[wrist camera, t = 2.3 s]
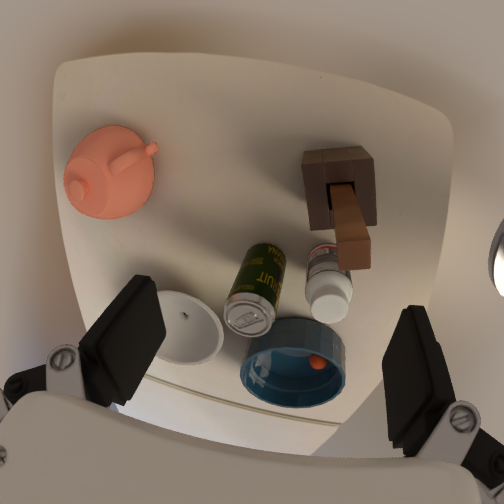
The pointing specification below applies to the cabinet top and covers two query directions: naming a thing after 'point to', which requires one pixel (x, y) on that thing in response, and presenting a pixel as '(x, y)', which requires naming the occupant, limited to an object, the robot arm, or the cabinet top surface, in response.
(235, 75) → the cabinet top surface
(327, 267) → the pill bottle
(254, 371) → the bowl
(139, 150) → the pink teapot
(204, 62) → the cabinet top surface
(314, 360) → the ball
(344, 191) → the brown wooden stick
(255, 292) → the green drink can
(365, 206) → the stick stand
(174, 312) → the dish
